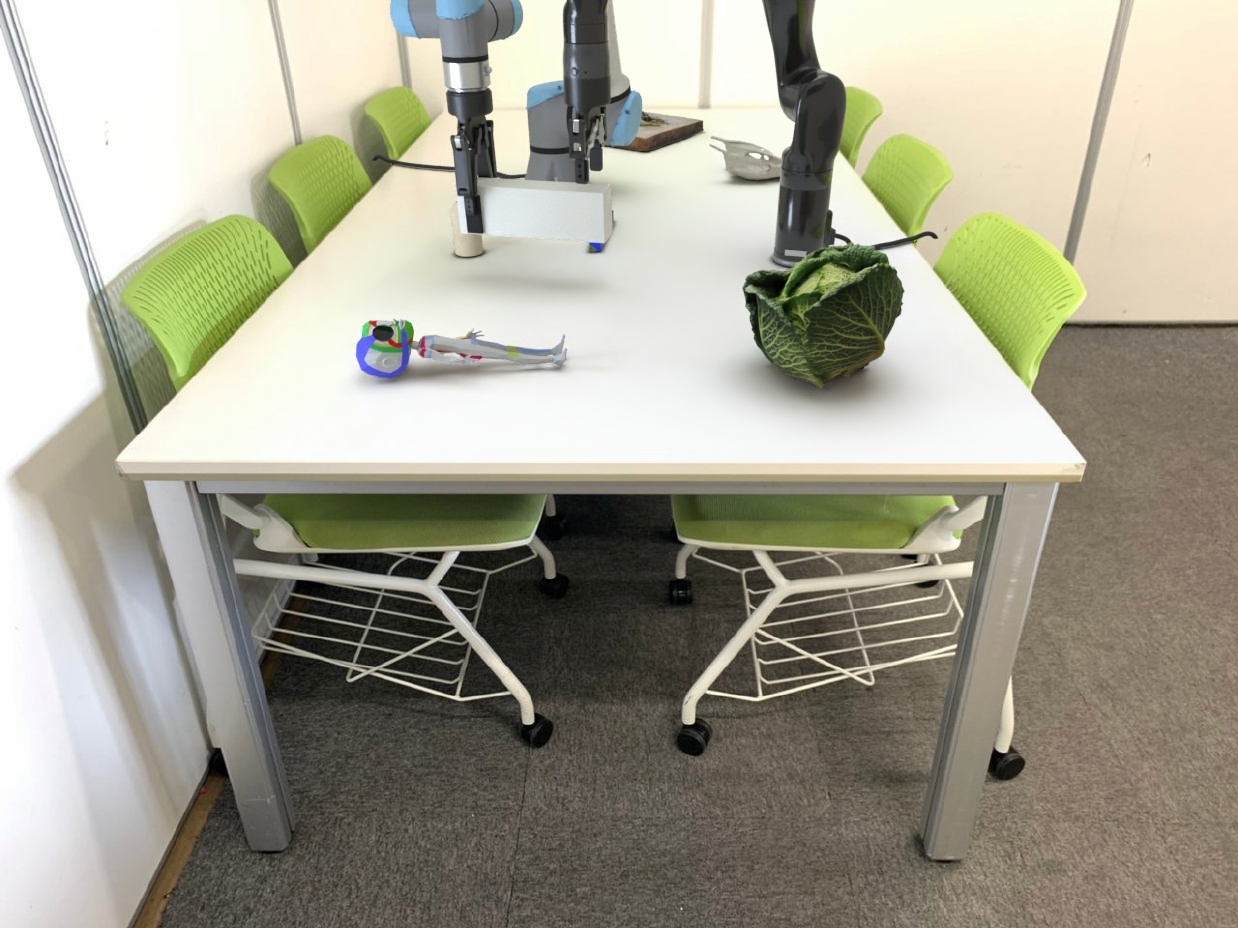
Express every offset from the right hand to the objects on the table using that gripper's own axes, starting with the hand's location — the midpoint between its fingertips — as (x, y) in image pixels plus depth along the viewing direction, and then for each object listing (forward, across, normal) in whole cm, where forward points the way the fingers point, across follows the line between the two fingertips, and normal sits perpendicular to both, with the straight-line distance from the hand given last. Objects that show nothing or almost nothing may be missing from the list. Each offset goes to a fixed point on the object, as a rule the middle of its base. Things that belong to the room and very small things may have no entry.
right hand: (589, 177), depth 150 cm
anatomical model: (+18, +77, -21) cm, 82 cm away
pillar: (+19, +26, +5) cm, 33 cm away
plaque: (+19, +116, +20) cm, 119 cm away
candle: (+19, +11, +28) cm, 36 cm away
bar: (+10, 0, +10) cm, 14 cm away
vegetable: (+19, -27, -41) cm, 53 cm away
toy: (+19, -37, +9) cm, 43 cm away
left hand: (+10, 0, +20) cm, 22 cm away
